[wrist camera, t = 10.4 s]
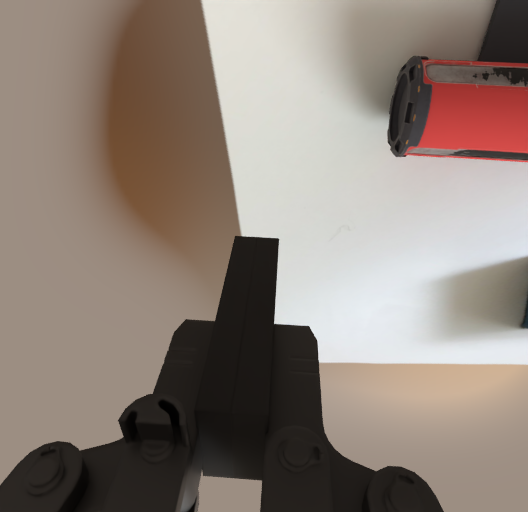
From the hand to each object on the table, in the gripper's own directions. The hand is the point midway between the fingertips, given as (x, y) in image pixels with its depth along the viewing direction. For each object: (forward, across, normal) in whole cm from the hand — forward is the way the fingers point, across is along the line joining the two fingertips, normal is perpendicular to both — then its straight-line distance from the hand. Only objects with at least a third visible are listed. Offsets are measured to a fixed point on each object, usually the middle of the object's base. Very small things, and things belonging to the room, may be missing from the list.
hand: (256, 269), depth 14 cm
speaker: (+23, +10, 0) cm, 25 cm away
